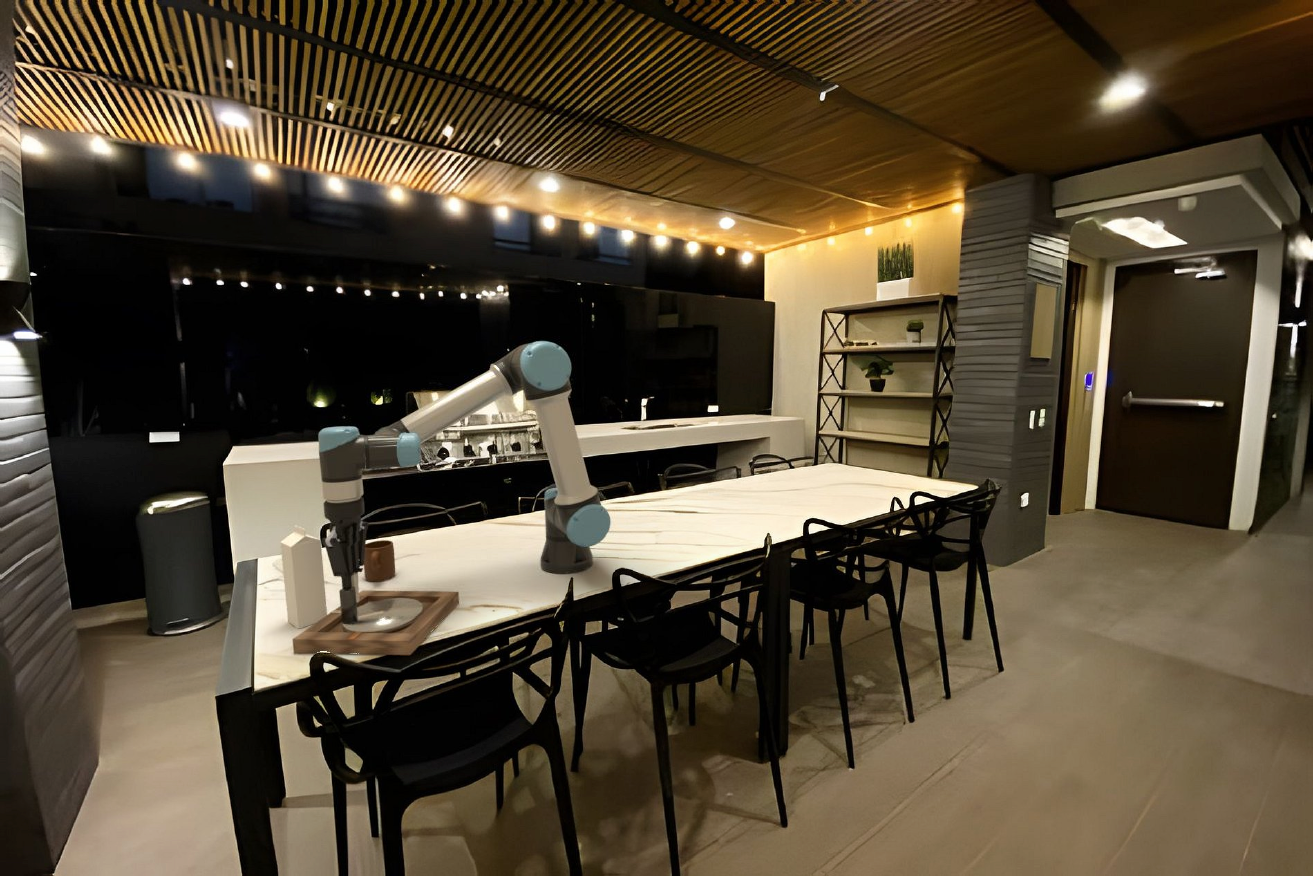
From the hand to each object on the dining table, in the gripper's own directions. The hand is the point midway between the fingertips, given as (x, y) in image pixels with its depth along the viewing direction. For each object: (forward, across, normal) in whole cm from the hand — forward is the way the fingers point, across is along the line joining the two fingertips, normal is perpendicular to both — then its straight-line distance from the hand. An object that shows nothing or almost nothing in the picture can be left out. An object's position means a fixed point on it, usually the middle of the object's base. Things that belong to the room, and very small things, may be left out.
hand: (351, 602), depth 118 cm
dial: (+4, 0, +7) cm, 8 cm away
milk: (+6, -2, -12) cm, 14 cm away
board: (+6, 0, +7) cm, 9 cm away
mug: (+6, -26, -9) cm, 29 cm away
